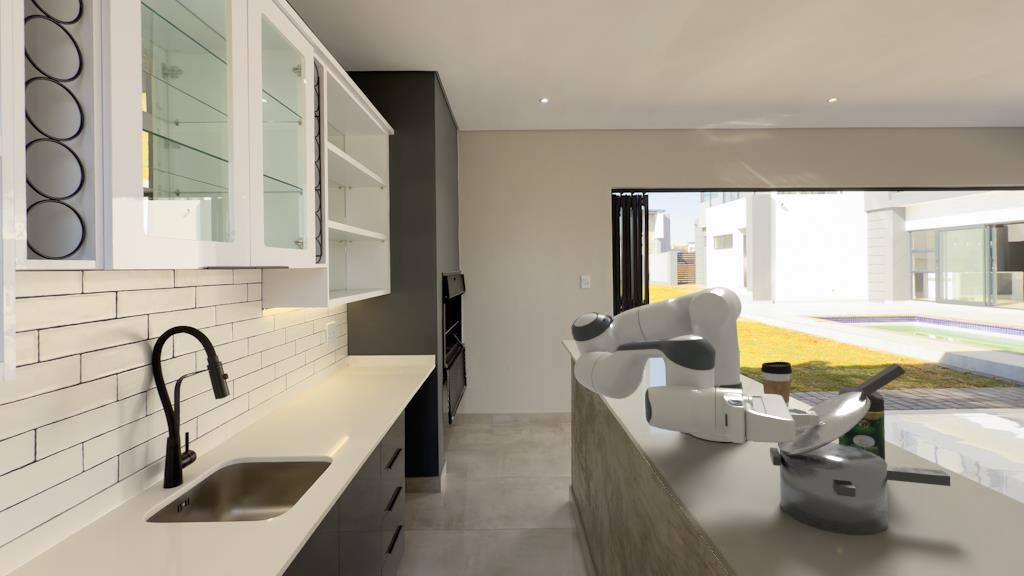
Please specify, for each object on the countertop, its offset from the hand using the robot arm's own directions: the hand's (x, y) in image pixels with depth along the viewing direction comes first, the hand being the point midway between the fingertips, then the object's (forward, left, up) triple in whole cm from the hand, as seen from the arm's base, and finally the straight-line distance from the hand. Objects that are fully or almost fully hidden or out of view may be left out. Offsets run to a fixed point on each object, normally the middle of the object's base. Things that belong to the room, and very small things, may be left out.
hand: (818, 418), depth 90 cm
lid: (-1, +4, +1) cm, 4 cm away
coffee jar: (-20, +11, -17) cm, 28 cm away
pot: (-1, +6, -17) cm, 18 cm away
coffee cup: (-70, +1, -17) cm, 72 cm away
